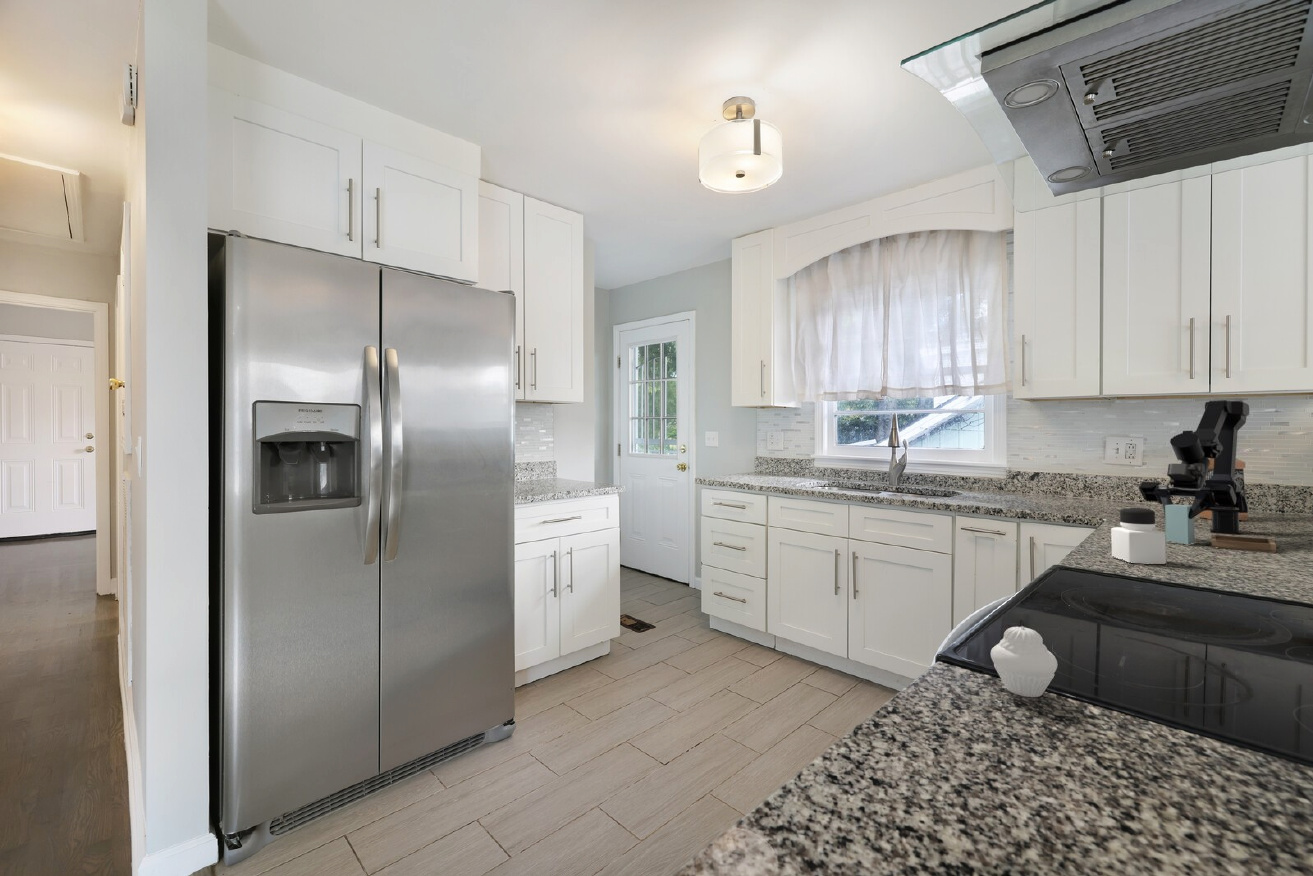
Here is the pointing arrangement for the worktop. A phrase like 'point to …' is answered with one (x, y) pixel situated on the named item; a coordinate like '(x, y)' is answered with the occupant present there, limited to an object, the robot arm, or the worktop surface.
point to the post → (1179, 524)
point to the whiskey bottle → (1240, 480)
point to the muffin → (1024, 662)
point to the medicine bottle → (1138, 537)
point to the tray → (1243, 543)
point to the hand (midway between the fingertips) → (1177, 516)
